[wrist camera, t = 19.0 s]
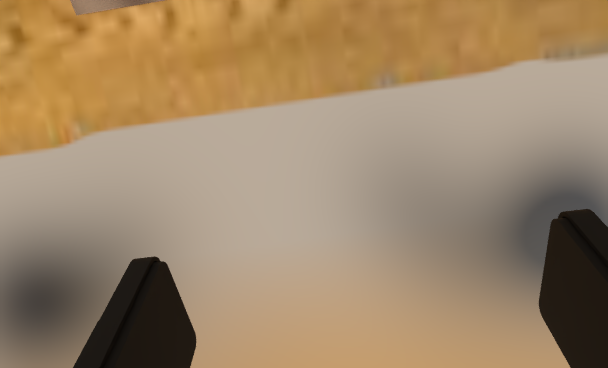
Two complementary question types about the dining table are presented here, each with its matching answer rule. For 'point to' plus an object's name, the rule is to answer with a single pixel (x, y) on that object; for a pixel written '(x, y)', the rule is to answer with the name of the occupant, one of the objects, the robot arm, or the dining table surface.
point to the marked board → (104, 5)
